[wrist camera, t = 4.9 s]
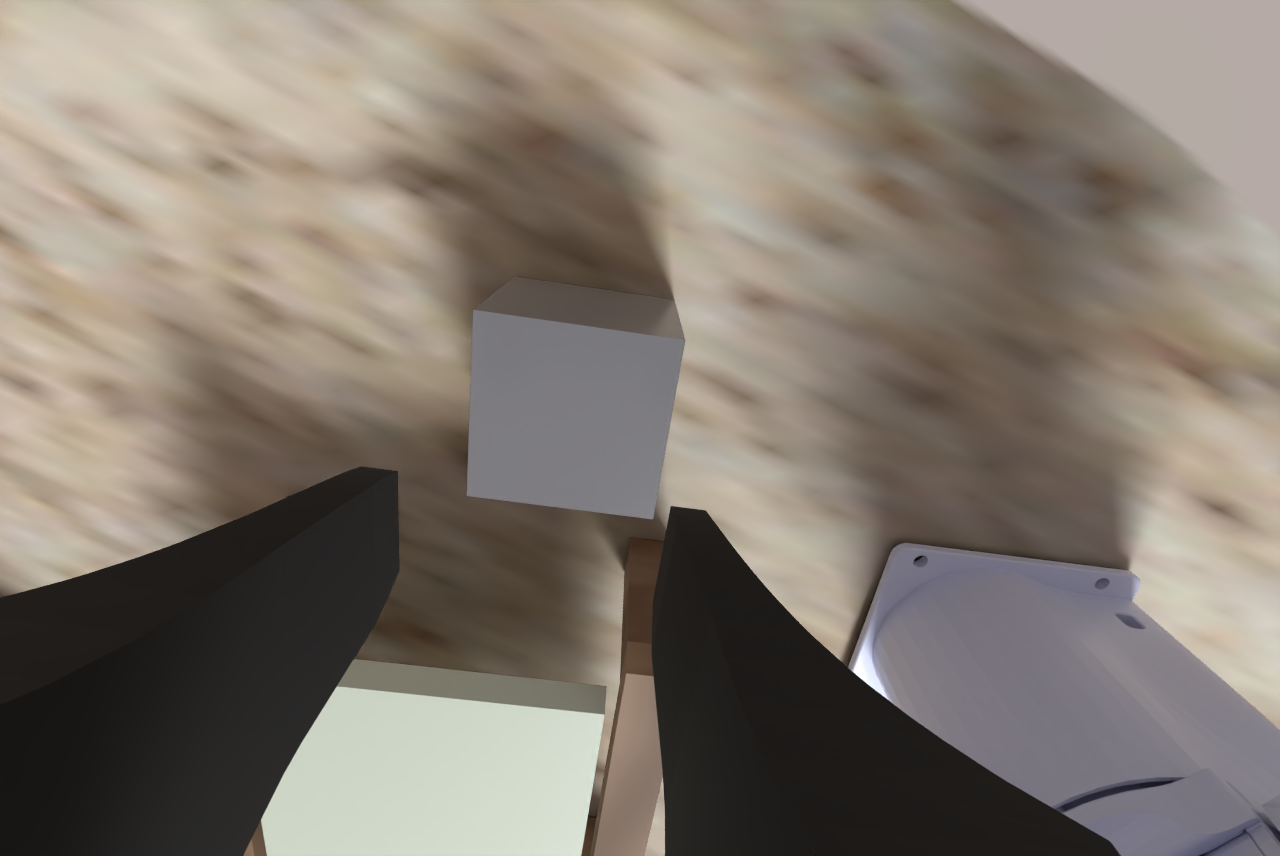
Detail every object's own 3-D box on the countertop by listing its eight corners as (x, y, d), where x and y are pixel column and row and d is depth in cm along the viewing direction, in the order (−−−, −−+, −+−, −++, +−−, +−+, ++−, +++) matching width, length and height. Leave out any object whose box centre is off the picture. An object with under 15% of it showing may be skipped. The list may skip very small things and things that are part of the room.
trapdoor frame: (673, 542, 22) (684, 679, 16) (614, 841, 29) (607, 1015, 23) (288, 495, 21) (150, 621, 15) (320, 814, 28) (234, 987, 22)
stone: (674, 299, 19) (685, 340, 14) (650, 442, 21) (653, 519, 16) (515, 275, 18) (473, 309, 14) (506, 423, 20) (466, 495, 16)
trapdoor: (566, 925, 23) (558, 1003, 21) (307, 903, 23) (272, 981, 21) (607, 668, 18) (603, 736, 16) (273, 631, 18) (220, 696, 15)
